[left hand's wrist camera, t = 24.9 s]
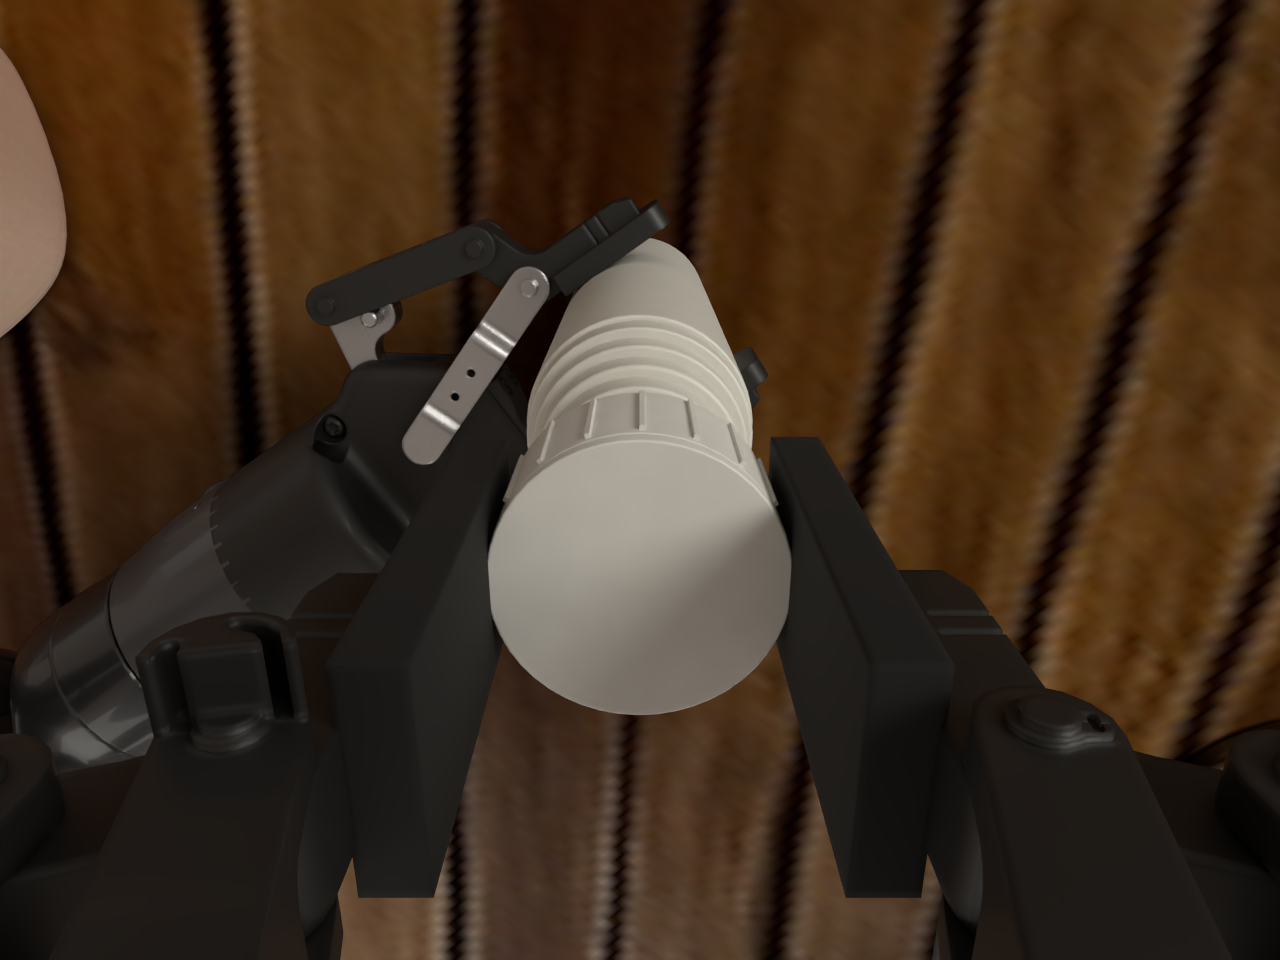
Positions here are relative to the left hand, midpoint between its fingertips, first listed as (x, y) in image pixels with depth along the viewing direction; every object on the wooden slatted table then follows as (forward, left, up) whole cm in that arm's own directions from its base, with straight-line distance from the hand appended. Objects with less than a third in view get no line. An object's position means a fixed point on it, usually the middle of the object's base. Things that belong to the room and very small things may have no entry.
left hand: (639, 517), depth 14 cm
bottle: (0, 0, -20) cm, 20 cm away
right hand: (+2, -2, -14) cm, 14 cm away
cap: (0, 0, +2) cm, 2 cm away
